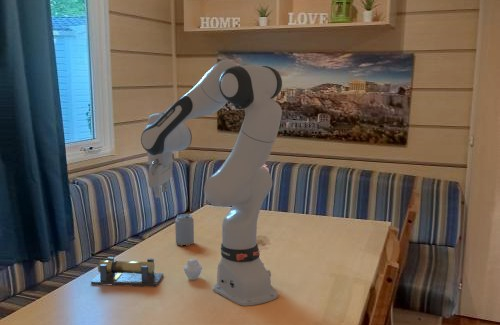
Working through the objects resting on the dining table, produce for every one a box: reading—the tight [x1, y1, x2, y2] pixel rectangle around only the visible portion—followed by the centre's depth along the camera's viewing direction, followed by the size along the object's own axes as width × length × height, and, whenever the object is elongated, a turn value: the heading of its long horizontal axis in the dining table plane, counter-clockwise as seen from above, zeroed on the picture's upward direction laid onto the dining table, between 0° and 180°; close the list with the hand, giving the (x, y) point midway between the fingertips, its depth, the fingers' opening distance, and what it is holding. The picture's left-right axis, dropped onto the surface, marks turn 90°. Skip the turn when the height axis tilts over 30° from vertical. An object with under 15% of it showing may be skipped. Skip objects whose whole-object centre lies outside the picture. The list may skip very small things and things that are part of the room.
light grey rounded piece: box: [183, 258, 203, 281], centre depth 170 cm, size 6×6×7 cm
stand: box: [90, 256, 164, 288], centre depth 168 cm, size 22×9×6 cm, turn 85°
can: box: [174, 213, 195, 246], centre depth 205 cm, size 8×8×12 cm
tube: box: [97, 259, 155, 274], centre depth 167 cm, size 18×4×4 cm, turn 85°
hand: (161, 194), depth 184 cm, fingers open, 8 cm apart
